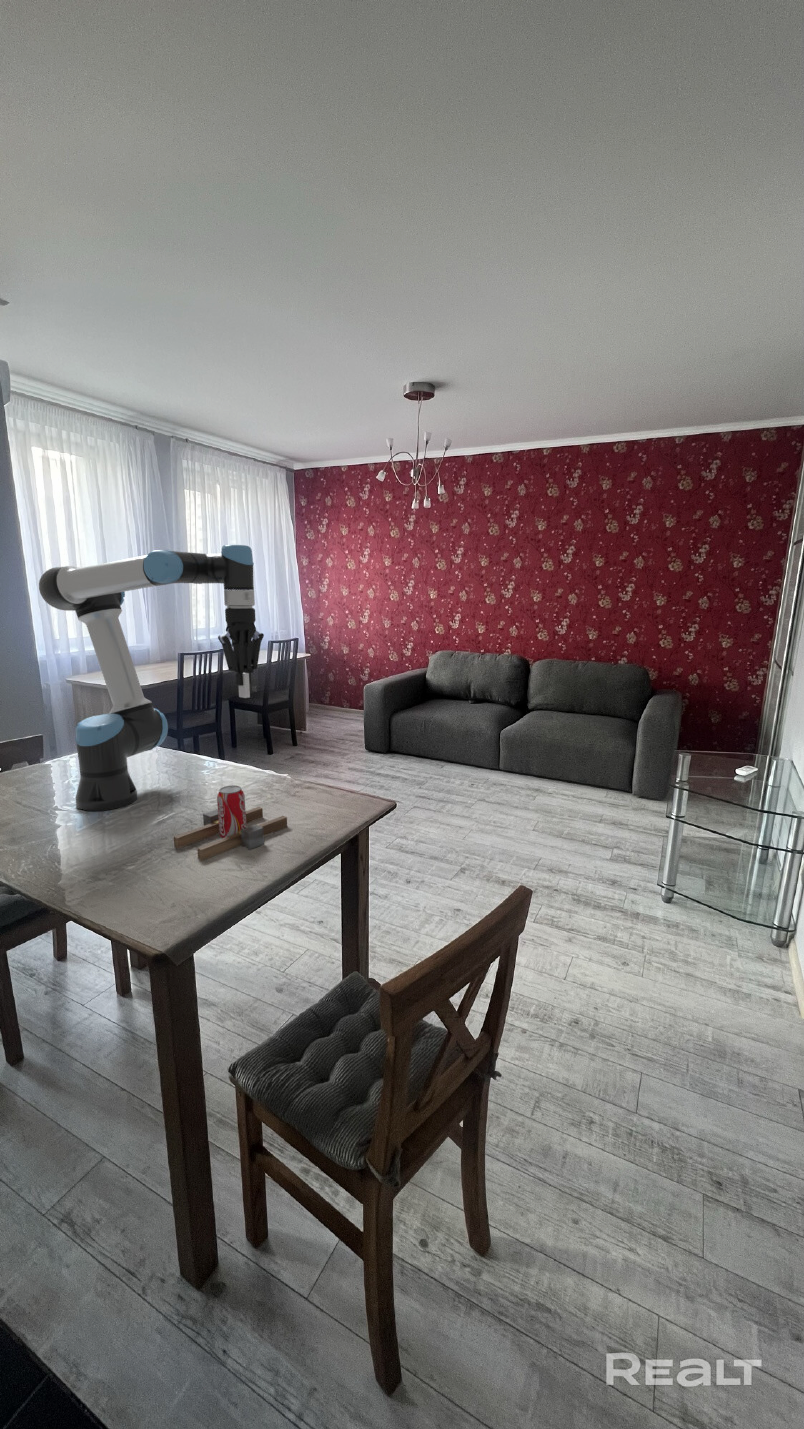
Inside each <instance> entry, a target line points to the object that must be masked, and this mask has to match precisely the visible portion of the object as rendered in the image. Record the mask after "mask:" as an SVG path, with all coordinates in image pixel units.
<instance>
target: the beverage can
mask: <svg viewBox="0 0 804 1429" xmlns="http://www.w3.org/2000/svg"><path fill="white" fill-rule="evenodd" d="M216 802H217V803H216V804H217V805H216V806H217V809H218V818H219V831H220V833H219V836H220V838H221V839H223V838H225V837H228V836H231V835H233V834H236V833H237V832H238V831H240V830H241V829H244V828H247V827H248V826H247V823H246V811H247V810H246V797H245V792H244V790H242V786H239V785H235V784H234V785H233V784H232V785H227V786H226V785H225V786H222V787H220V788H219V789H218V793H217V796H216Z"/></svg>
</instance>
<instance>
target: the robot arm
mask: <svg viewBox="0 0 804 1429" xmlns="http://www.w3.org/2000/svg"><path fill="white" fill-rule="evenodd" d="M252 550H253V549H252V548H251V546H249V545H244V544H224V545H222V546H221V552H219V553H202V552H201V553H200V552H188V551H178V550H177V551H174V550H168V549H158V550H157V549H156V550H152V551H149V553H148V554H146V555H140V556H135V557H129V558H125V559H120V560H113V561H109V562H104V563H97V564H94V565H88V566H84V567H77V566H73V565H66V566H57V567H50V568H49V569H48V570H46V571H44V572H43V574H42V575H41V576H40V579H39V581H38V590H39V593H40V596H41V597H42V599H43V600H44V601H45V602H46V604H48V606H49V605H50V607H52V608H54V609H57V610H60V611H65V612H66V611H67V612H69V611H71V612H74V611H75V615H76V618H77V619H78V621H80V622H81V623H84V624H85V625H86V628H87V629H86V630H87V631H88V635H89V637H90V640H91V644H92V647H93V648H94V649H93V650H94V652H95V655H96V658H97V661H98V664H99V667H100V671H101V673H102V676H103V679H104V683H105V685H106V689H107V691H108V694H109V697H110V700H111V703H112V707H111V709H110V711H109V713H103V714H100V715H98V714H97V715H93V716H89V717H87V718H85V719H82V720H81V721H79V722H78V723H77V725H76V727H75V740H74V741H75V743H76V744H75V745H76V750H77V751H76V752H77V758H78V767H79V768H78V769H79V775H80V778H79V782H78V787H77V790H76V795H75V805H76V807H78V808H77V809H78V810H82V809H83V810H82V811H87V812H88V811H91V812H100V811H108V810H115V809H118V808H123V807H125V806H127V805H131V804H132V803H134V802H135V801H136V800H137V798H138V790H137V788H136V785H135V784H134V782H133V779H132V777H131V775H130V773H129V770H128V759H127V758H130V757H132V756H136V755H138V754H141V753H144V752H148V751H151V750H153V749H155V748H157V747H159V746H160V745H162V744H163V743H164V741H165V739H166V737H167V736H168V731H169V723H168V720H167V717H166V716H165V714H164V713H163V712H161V711H160V710H159V709H157V708H155V707H154V705H153V702H152V700H149V699H147V698H146V697H145V696H144V693H143V689H142V687H141V683H140V680H139V677H138V674H137V671H136V668H135V665H134V662H133V659H132V656H131V653H130V650H129V646H128V644H127V643H128V642H127V640H126V638H125V637H126V636H125V633H124V632H123V628H122V625H121V622H120V618H119V617H120V616H121V614H122V613H123V609H122V607H121V606H122V605H123V603H124V601H125V599H124V598H125V596H126V592H129V591H135V590H140V589H145V588H147V589H148V588H152V587H157V586H158V587H159V586H164V585H165V586H166V585H171V584H199V585H203V584H223V596H224V597H223V599H224V603H223V604H224V605H225V606H226V608H225V609H224V614H225V622H226V628H225V632H224V633H223V634H221V635H220V634H219V635H218V636H217V639H218V641H219V643H220V644H221V647H222V650H223V654H224V657H225V661H226V665H227V669H228V671H229V672H232V673H234V674H235V683H236V686H238V697H239V698H242V699H247V698H248V699H249V698H251V694H250V693H251V692H250V691H251V690H250V685H251V684H252V673H254V670H257V669H258V666H259V657H260V652H261V651H260V650H261V645H262V644H261V643H262V642H263V641H262V640H263V638H264V636H265V634H264V633H262V632H259V631H258V630H257V628H256V625H255V622H256V609H255V608H254V606H255V605H256V602H255V600H256V598H255V587H254V586H255V585H254V584H255V582H254V566H255V565H254V559H253V551H252Z"/></svg>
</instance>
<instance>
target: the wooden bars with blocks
mask: <svg viewBox="0 0 804 1429" xmlns="http://www.w3.org/2000/svg"><path fill="white" fill-rule="evenodd" d="M263 812H264V810H263V807H260V806H257V807H254V808H251V809H248V810H246V824H249V823H251V822H254V821H257V820H259V819H262V818H263V817H264V814H263ZM202 818H203V819H202V820H203V826H200V827H195V828H194V829H191V830H189V831H186V832H182V833H180V834H179V833H178V834H177V835H174V836H173V845H174V846H173V847H174V848H176V849H180V848H183V847H186V846H188V845H191V844H193V843H196V842H199V841H202V840H205V839H207V838H210V837H213V836H216V835H218V834H219V835H220V831H219V818H218V808H217V809H213V810H210V811H207V812H205V813H202ZM287 827H288V817H287V816H284V815H281V816H279V817H276V818H274V819H270V820H268V821H266V822H263V823H259V824H252V825H249V826H247V828H244V829H241V830H240V831H238V832H237V833H236V834H233V835H231V836H228V837H225V838H220V839H218V840H215V841H213V842H209V843H207V844H205V845H202V846H199V847H197V849H196V850H197V859H198V860H200V861H205V860H207V859H209V858H212V857H214V856H217V855H220V854H222V853H225V852H227V851H230V850H232V849H235V848H237V847H240V846H241V847H243V848H245V849H248V850H253V849H254V848H257V847H259V846H262V845H265V844H264V843H265V838H264V837H265V836H267V835H269V834H272V833H275V832H277V831H279V830H283V829H285V828H287Z"/></svg>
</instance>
